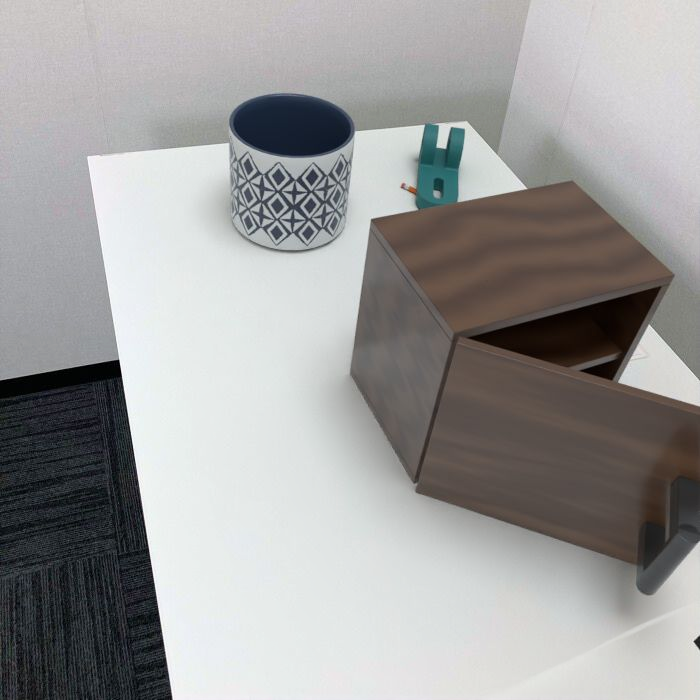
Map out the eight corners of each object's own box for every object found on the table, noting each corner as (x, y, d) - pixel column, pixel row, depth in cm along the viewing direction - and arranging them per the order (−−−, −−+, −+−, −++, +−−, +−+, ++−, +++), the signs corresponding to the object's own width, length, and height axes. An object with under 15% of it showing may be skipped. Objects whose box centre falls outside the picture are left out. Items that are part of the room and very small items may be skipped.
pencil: (403, 185, 126) (403, 182, 126) (493, 229, 120) (494, 226, 119) (400, 187, 126) (401, 184, 125) (490, 231, 119) (491, 228, 119)
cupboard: (596, 422, 93) (675, 274, 76) (413, 484, 84) (454, 332, 67) (519, 327, 104) (572, 179, 87) (349, 373, 95) (370, 218, 78)
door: (648, 629, 74) (767, 499, 57) (398, 544, 78) (438, 398, 61) (651, 561, 80) (760, 423, 62) (417, 485, 84) (459, 335, 67)
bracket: (418, 156, 134) (426, 116, 128) (455, 161, 133) (464, 121, 128) (415, 212, 121) (423, 170, 115) (455, 218, 121) (465, 176, 115)
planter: (226, 186, 121) (223, 92, 110) (334, 183, 125) (343, 92, 113) (236, 256, 109) (234, 159, 97) (355, 250, 113) (367, 156, 101)
